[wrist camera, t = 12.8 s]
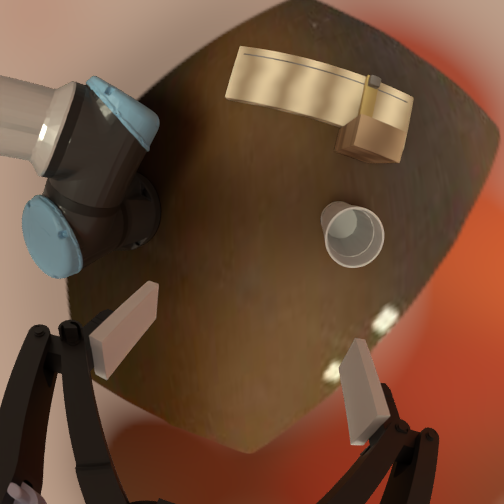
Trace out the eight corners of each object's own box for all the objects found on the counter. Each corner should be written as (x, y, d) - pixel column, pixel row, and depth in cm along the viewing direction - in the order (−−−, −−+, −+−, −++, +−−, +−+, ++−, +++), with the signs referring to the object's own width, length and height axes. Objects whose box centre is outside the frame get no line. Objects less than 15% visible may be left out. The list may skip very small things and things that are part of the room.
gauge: (333, 151, 41) (353, 145, 27) (351, 77, 36) (374, 46, 23) (367, 163, 40) (399, 162, 27) (383, 89, 36) (417, 65, 22)
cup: (360, 195, 42) (384, 205, 31) (361, 241, 44) (383, 265, 33) (313, 197, 43) (323, 208, 32) (317, 244, 46) (326, 270, 34)
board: (227, 100, 40) (224, 97, 38) (242, 50, 37) (240, 45, 35) (398, 150, 39) (403, 149, 37) (409, 99, 35) (413, 97, 33)
